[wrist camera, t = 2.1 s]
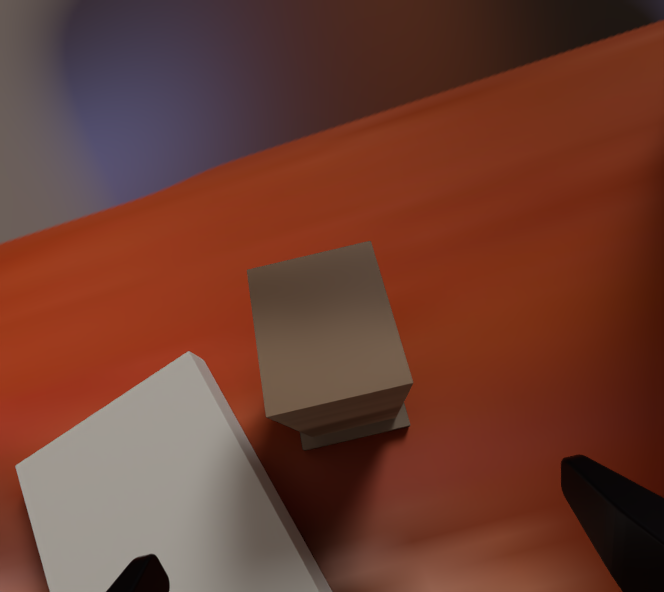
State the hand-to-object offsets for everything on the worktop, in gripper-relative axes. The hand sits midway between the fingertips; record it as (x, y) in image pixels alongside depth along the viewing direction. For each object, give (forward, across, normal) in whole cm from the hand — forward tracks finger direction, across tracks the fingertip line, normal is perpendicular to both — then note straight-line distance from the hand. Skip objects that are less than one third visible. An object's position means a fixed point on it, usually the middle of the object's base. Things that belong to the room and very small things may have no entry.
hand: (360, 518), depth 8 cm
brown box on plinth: (+12, 0, +5) cm, 13 cm away
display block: (+8, +10, +8) cm, 15 cm away
